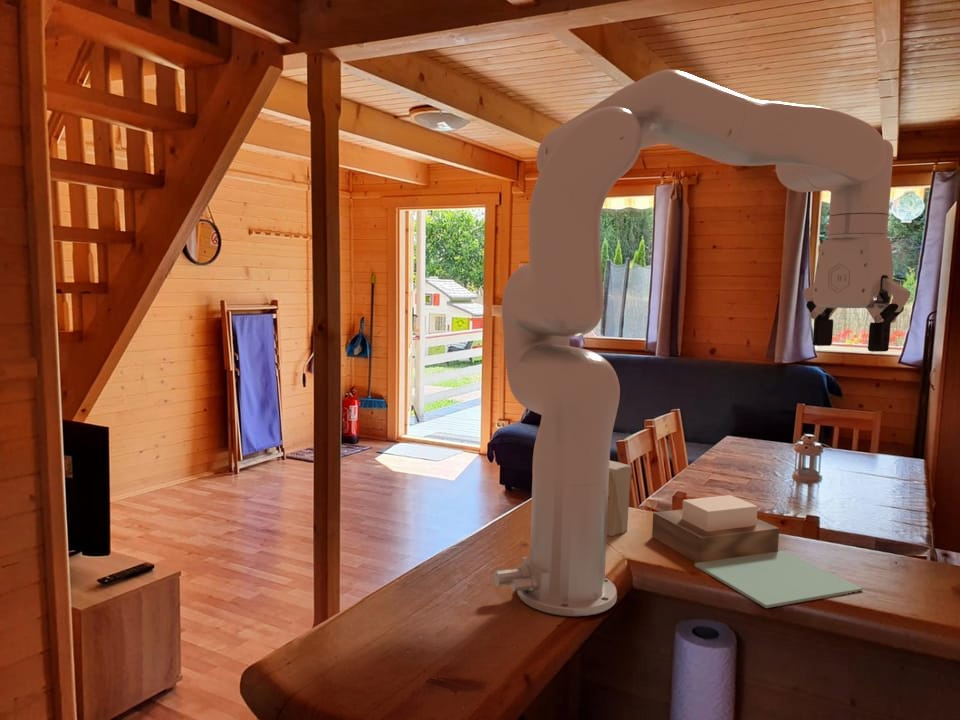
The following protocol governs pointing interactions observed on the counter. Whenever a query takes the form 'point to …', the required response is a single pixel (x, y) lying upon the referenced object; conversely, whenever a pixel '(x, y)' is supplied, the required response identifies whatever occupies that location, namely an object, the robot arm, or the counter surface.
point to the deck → (713, 538)
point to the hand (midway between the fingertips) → (848, 348)
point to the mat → (777, 578)
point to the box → (618, 498)
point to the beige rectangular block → (719, 513)
